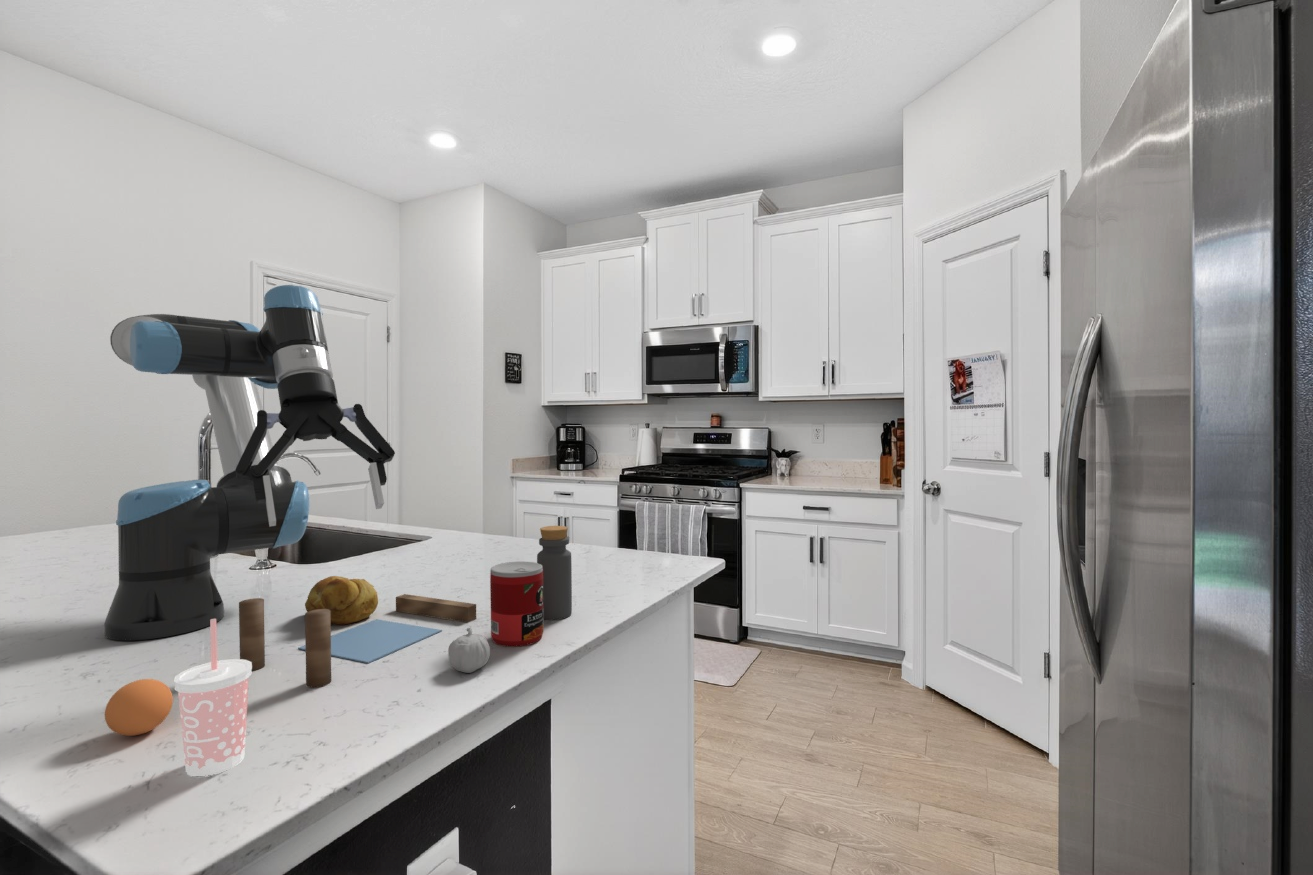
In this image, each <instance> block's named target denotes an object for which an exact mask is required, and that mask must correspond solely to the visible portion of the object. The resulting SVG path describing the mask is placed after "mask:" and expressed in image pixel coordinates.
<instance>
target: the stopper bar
mask: <svg viewBox="0 0 1313 875" xmlns="http://www.w3.org/2000/svg"><path fill="white" fill-rule="evenodd" d="M395 612H399V613H406V614H412V615H419V616H425V617H430V618H431V617H432V618H437V619H438V618H439V619H443V620H449V621H450V620H451V621H457V622H463V623H470V622H473V621H475V620H477V604H476V603H471V602H466V601H464V602H463V601H458V600H456V601H455V600H449V599H441V598H435V597H434V598H433V597H428V596H421V595H414V594H406V593H404V594H401V595H397V596H396V597H395Z"/></svg>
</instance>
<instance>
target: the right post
mask: <svg viewBox="0 0 1313 875" xmlns="http://www.w3.org/2000/svg"><path fill="white" fill-rule="evenodd" d="M304 625H305V626H304V629H305V630H304V634H305V639H304V640H305V643H304V644H305V646H306V651H305V687H307V688H311V689H312V688H314V689H315V688H321V687H325V686H327V685H329V684H330V683H331V682H332V656H331V636H332V635H331V634H332V631H331V629H332V627H331V625H332V624H331V618H330V610H329V609H317V610H312V611H309V612H307V611H306V612H305V613H304Z"/></svg>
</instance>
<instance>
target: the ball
mask: <svg viewBox="0 0 1313 875" xmlns="http://www.w3.org/2000/svg"><path fill="white" fill-rule="evenodd" d="M173 703H174V698H173V694H172V691H171V689H170V688H169V686H168V685H167V684H165V682H162V681H160V680H158V679H153V678H152V679H151V678H144V679H142V678H141V679H139V680H138V679H137V680H134V681H131V682H129V683H127V684H125V685H124V686H122V687H121V688H119V689H118V690H116V692H115V693H114V694H112V696H111V697H110V698H109V700H108V702H107V704H106V707H105V709H104V721H105V723H106V725H107V726H108V728H109V729H110V730H111V731H113V732H114V733H116V734H118V735H120V736H128V737H130V736H131V737H133V736H139V735H143V734H145V733H146V734H147V733H148V732H150V731H152V730H154V729H156V728H157V727H159V726H160V725H161V724H162V723H163V722H164V721H165V720H166V718H167V717H168V715H169V714H170V712H171V710H172V708H173Z"/></svg>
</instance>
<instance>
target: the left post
mask: <svg viewBox="0 0 1313 875" xmlns="http://www.w3.org/2000/svg"><path fill="white" fill-rule="evenodd" d="M238 621H239V622H238V625H239V626H238V627H239V628H238V629H239V632H238V633H239V659H243V660H248V661H250V662H252V670H251V671H252V672H253V671H259V670H261V669H263V668H264V667H265V666H266V650H265V649H266V646H265V645H266V644H265V642H266V641H265V640H266V639H265V637H266V636H265V599H264V598H259V597H256V598H249V599H244V600H241V601H239V602H238Z"/></svg>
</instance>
